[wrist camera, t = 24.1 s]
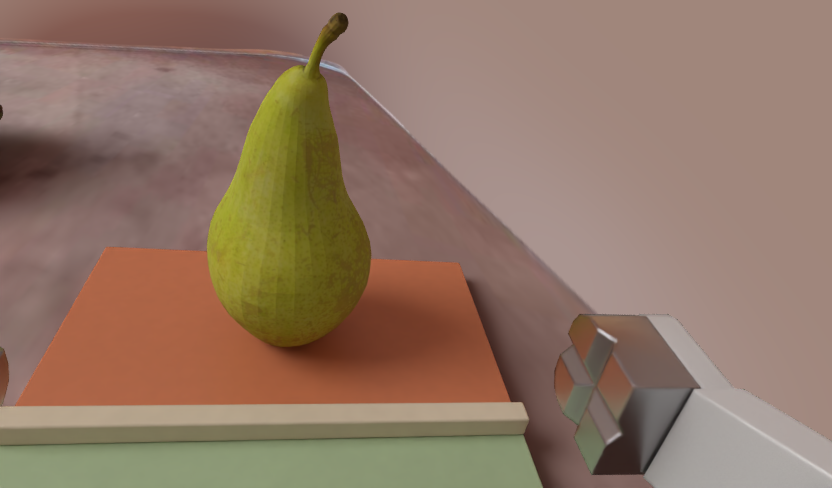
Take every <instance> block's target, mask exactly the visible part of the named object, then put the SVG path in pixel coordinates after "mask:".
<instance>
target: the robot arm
mask: <svg viewBox="0 0 832 488" xmlns="http://www.w3.org/2000/svg"><path fill="white" fill-rule="evenodd" d="M568 334H569V337H570V339H571V341H572V343H573V345H571V346H570V347H569V348H568V349H567V350H565V351H564V352H563V353H562V354H560V356H559V359H558V362H557V365H556V368H555V380H554V388H555V393H556V397H557V401H558V403H559V406H560V408H561V410H562V412H563V414H564V415H565V416H567V417H568V418H569V419H570V420H572V421H573V422H574V423H575V424H577V425H578V426H577V429H576V432H575V436H574V439H575V441H576V443H577V445H578V447H579V449H580V451H581V454H582V456H583V458H584V460H585V462H586V464H587V466H588V468H589V471H590V473H591V475H643V474H645V475H644V477H643V478H644V479H646V480H647V481H648V482H649V483H650V484H651V485H652V486H653V487H654V488H832V441H831V440H829V439H828V438H826V437H824V436H823V435H820V434H819V433H818V432H815V431H814V430H812V429H811V428H809V427H807V426H806V425H804V424H802V423H800V422H799V421H797V420H796V419H794V418H792V417H790V416H789V415H787V414H785V413H784V412H782V411H780V410H779V409H777V408H775V407H774V406H772V405H770V404H769V403H767V402H765V401H764V400H762V399H760V398H758V397H757V396H755V395H753V394H751V393H750V392H748V391H747V390H745V389H735V388H734V387H733V386H732V385H731V383H730V382H729V381H728V380H727V379H726V377H725V376H724V375H723V374H722V372H721V371H720V370H719V369H718V368H717V367H716V365H715V364H714V363H713V362H712V361H711V359H710V358H709V357H708V356H707V354H706V353H705V352H704V351H703V350H702V348H701V347H700V346H699V345H698V344H697V342H696V341H695V340H694V339H693V337H692V336H691V335H690V334H689V333H688V331H687V330H686V329H685V328H684V327H683V325H682V324H681V323H680V322H679V321H678V319H676V318H674V317H672V316H670V315H669V314H639V315H606V314H579V315H578V317H577V318H576V319H575V320H574V321H573V323H572V325H571V328H570V330H569V333H568ZM8 382H9V370H8V361H7V358H6V354H5V351H4V349H3V348H1V347H0V407H1V406H2V404H3V401H4V398H5V394H6V390H7V386H8Z"/></svg>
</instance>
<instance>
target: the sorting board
mask: <svg viewBox="0 0 832 488" xmlns="http://www.w3.org/2000/svg"><path fill="white" fill-rule="evenodd" d="M528 422H529V417H528V414H527V412H526V409H525V407H524V404H523V403H522V402H511V400H510V398H509V395H508V392H507V390H506V387H505V384H504V382H503V379H502V376H501V374H500V371H499V368H498V366H497V363H496V360H495V357H494V355H493V352H492V349H491V347H490V344H489V341H488V339H487V336H486V333H485V331H484V328H483V325H482V323H481V320H480V317H479V315H478V312H477V309H476V307H475V304H474V301H473V299H472V296H471V293H470V290H469V288H468V285H467V282H466V280H465V277H464V274H463V272H462V269H461V266H460V264H459V263H452V262H430V261H408V260H386V259H371V265H370V273H369V278H368V282H367V286H366V288H365V290H364V292H363V294H362V296H361V298H360V300H359V301H358V303H357V305H356V306H355V308H354V309H353V311H352V312H351V313H350V314H349V315H348V316H347V317H346V319H345V320H344V321H343V322H342V323H341V324H340V325H339V326H338V327H336V328H335V329H334V330H332V331H331V332H330V333H328V334H327V335H325V336H323V337H322V338H320V339H318V340H315V341H313V342H311V343H308V344H305V345H300V346H292V347H278V346H273V345H270V344H267V343H265V342H263V341H261V340H259V339H258V338H256V337H255V336H253V335H252V334H250V333H249V332H248V331H247V330H245V329H244V328H243V327H242V326H240V325H239V324H238V323H237V322H236V321H235V320H234V319H233V318H232V317H231V316H230V315H229V314H228V312H227V311H226V309H225V308H224V307H223V305H222V303H221V302H220V300H219V298H218V296H217V294H216V291H215V289H214V286H213V283H212V280H211V277H210V272H209V267H208V258H207V251H188V250H166V249H144V248H123V247H106V248H105V250H104V252H103V253H102V255H101V257H100V259H99V260H98V262H97V264H96V266H95V267H94V269H93V271H92V272H91V274H90V276H89V278H88V279H87V281H86V283H85V285H84V286H83V288H82V290H81V292H80V293H79V295H78V297H77V299H76V300H75V302H74V304H73V306H72V307H71V309H70V311H69V313H68V314H67V316H66V318H65V319H64V321H63V323H62V325H61V326H60V328H59V330H58V332H57V333H56V335H55V337H54V339H53V340H52V342H51V344H50V346H49V347H48V349H47V351H46V353H45V354H44V356H43V358H42V359H41V361H40V363H39V365H38V366H37V368H36V370H35V372H34V373H33V375H32V377H31V379H30V380H29V382H28V384H27V386H26V387H25V389H24V391H23V393H22V394H21V396H20V398H19V400H18V401H17V403H16V405H15V406H1V407H0V488H543V486H542V483H541V480H540V478H539V475H538V472H537V470H536V467H535V464H534V462H533V459H532V456H531V454H530V451H529V448H528V446H527V443H526V440H525V438H524V435H523V434H524V433H525V430H526V427H527V425H528Z"/></svg>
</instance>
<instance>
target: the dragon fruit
mask: <svg viewBox="0 0 832 488" xmlns="http://www.w3.org/2000/svg"><path fill="white" fill-rule="evenodd" d="M2 116H3V110H2V106H1V105H0V120H1V118H2Z"/></svg>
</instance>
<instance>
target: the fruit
mask: <svg viewBox="0 0 832 488" xmlns="http://www.w3.org/2000/svg"><path fill="white" fill-rule="evenodd" d="M347 26H348V19H347V16H346V15H345V14H343V13H336V14H334V15H333V16H332V17H331V19H330V20H329V22H328V24H327V25H326V26H325V27H324V28H323V29H322V31H321V33H320V35H319V37H318V40H317V42H316V44H315V46H314V48H313V51H312V53H311V56H310V59H309V62H308V64H307V66H303V65H298V66H294V67H292V68H290V69H288V70H287V71H285V72H284V73H283V74H282V75H281V76H280V77H279V78H278V80H277V81H276V82H275V83H274V85H273V86H272V88H271V89H270V91H269V92H268V94H267V95H266V96H265V98H264V100H263V102H262V104H261V106H260V108H259V110H258V112H257V114H256V116H255V118H254V120H253V122H252V124H251V126H250V128H249V131H248V134H247V137H246V141H245V144H244V147H243V151H242V154H241V158H240V161H239V165H238V168H237V171H236V174H235V176H234V178H233V180H232V183H231V184H230V186H229V188H228V190H227V192H226V194H225V195H224V197H223V199H222V200H221V202H220V204H219V205H218V207H217V209H216V210H215V212H214V215H213V218H212V221H211V224H210V228H209V233H208V240H207V258H208V267H209V272H210V277H211V280H212V283H213V286H214V289H215V291H216V294H217V296H218V298H219V300H220V302H221V303H222V305H223V307H224V308H225V309H226V311H227V312H228V314H229V315H230V316H231V317H232V318H233V319H234V320H235V321H236V322H237V323H238V324H239V325H240V326H242V327H243V328H244V329H245V330H247V331H248V332H249V333H250V334H252V335H253V336H255V337H256V338H258V339H259V340H261V341H263V342H265V343H267V344H270V345H273V346H278V347H292V346H300V345H305V344H308V343H311V342H313V341H315V340H318V339H320V338H322V337H323V336H325V335H327V334H328V333H330V332H331V331H332V330H334V329H335V328H336V327H338V326H339V325H340V324H341V323H342V322H343V321H344V320H345V319H346V317H347V316H348V315H349V314H350V313H351V312H352V311H353V309H354V308H355V306H356V305H357V303H358V301H359V300H360V298H361V296H362V294H363V292H364V290H365V288H366V286H367V282H368V278H369V273H370V265H371V247H370V241H369V238H368V235H367V232H366V229H365V226H364V223H363V221H362V219H361V218H360V216H359V214H358V212H357V210H356V208H355V207H354V205H353V203H352V201H351V200H350V198H349V196H348V194H347V191H346V188H345V185H344V181H343V177H342V170H341V162H340V153H339V145H338V138H337V134H336V131H335V127H334V123H333V119H332V115H331V111H330V107H329V100H328V88H327V83H326V80H325V78H324V77H323V76H322V75H321V74H320V71H319V65H320V61H321V57H322V55H323V53H324V51H325V49H326V48H327V46H328V45H329V44H330V43H332V42H333V41H334V40H336V39H337V38H338V37H339V35H340V34H342V33H343V32H345V30H346V29H347Z"/></svg>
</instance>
